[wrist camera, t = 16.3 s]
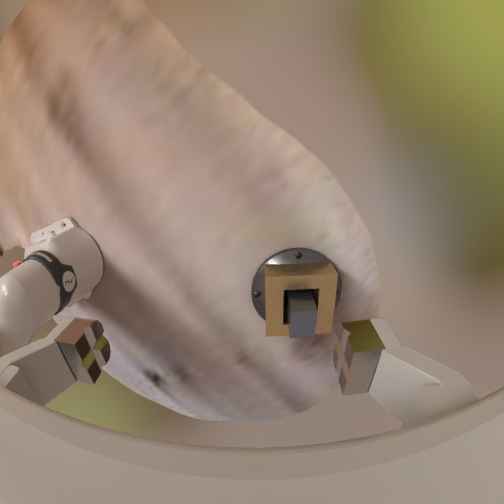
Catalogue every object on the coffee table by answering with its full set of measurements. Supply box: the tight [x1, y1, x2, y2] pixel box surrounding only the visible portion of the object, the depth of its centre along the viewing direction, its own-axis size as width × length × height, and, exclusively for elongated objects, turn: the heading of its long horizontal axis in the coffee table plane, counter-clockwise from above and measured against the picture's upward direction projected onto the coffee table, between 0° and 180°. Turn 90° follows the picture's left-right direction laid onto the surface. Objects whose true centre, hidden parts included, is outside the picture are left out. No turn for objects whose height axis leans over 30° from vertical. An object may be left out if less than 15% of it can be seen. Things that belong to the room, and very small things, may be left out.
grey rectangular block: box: [285, 289, 318, 338], centre depth 46 cm, size 4×5×10 cm
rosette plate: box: [252, 248, 341, 336], centre depth 49 cm, size 17×17×6 cm
